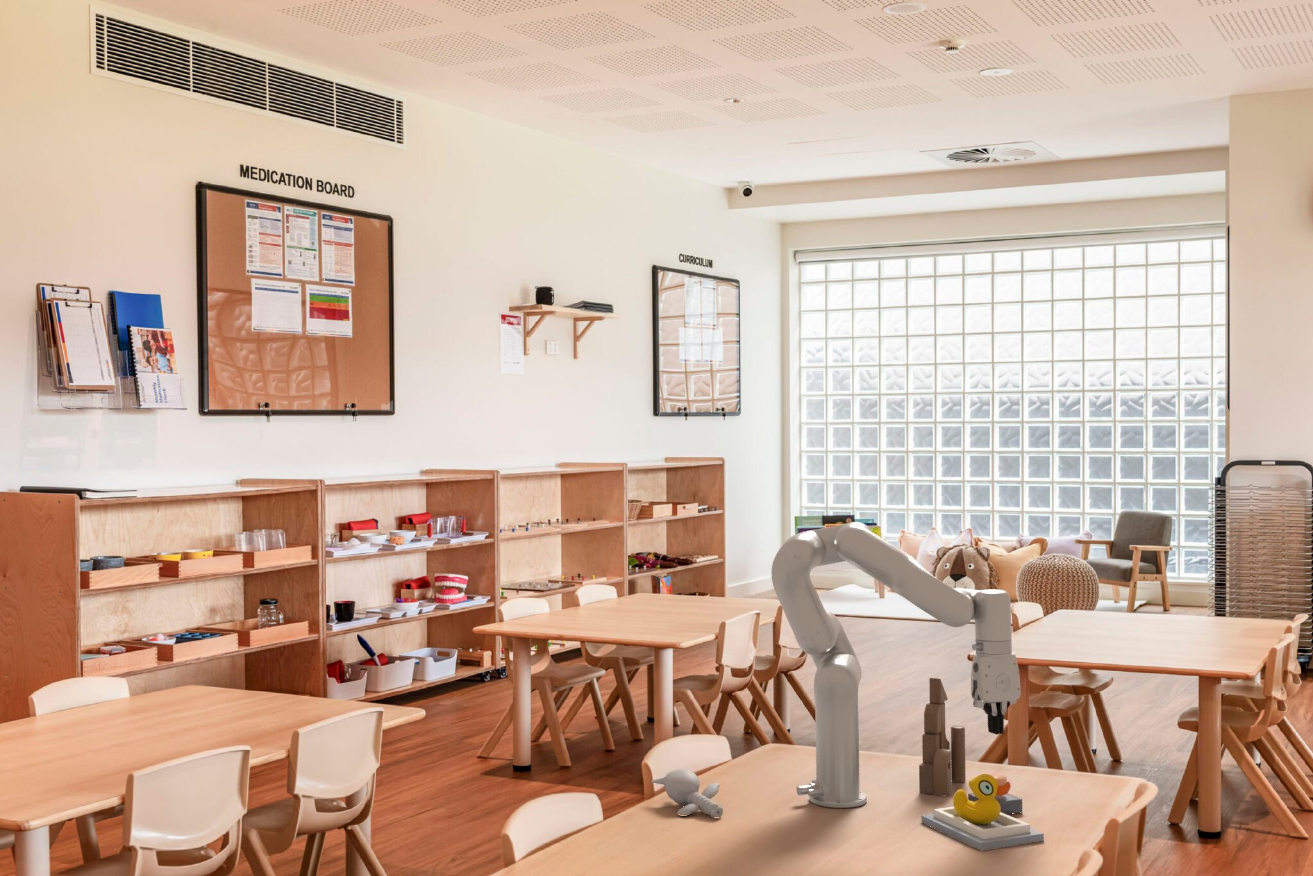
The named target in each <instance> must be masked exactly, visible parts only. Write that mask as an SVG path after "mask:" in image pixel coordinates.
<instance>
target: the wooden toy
mask: <svg viewBox="0 0 1313 876" xmlns="http://www.w3.org/2000/svg"><path fill="white" fill-rule="evenodd" d="M928 680H929V681H928V682H929V683H928V684H929V702H927V703H926V704H925V708H924V712H923V719H924V720H923V731H924V733H923V734H922V735H921V737H922V738H921V739H922V749H921V750H922V751H921V752H922V763H920V764H919V765H918V770H919V771H918V775H919V776H918V777H919V780H918V781H919V783H918V784H919V786H918V788H919V793H920V794H923V793H924V794H925V795H930V794H933V795H934V794H936V796H941V795H946V796H945V797H948V796H949V795H951V794H952V782H953V783H955V782H956V784H963V783H965V782H966V728H965V726H962V725H952V726H950V741H949V740H948V739H947V734H946V703H945V702H946V701H948V699H949V698H948V696H947V692H946V690H945V687H944V685H943V682H942V680H941V678H938V677H929V678H928ZM950 793H951V794H950Z"/></svg>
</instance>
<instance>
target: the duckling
mask: <svg viewBox="0 0 1313 876" xmlns="http://www.w3.org/2000/svg"><path fill="white" fill-rule="evenodd" d="M988 774H989V773H988ZM988 774H987V773H983V774H982V773H981V774H979V775H977V776H975V777H974V778H972V779H969V781H968V787H969V789H970V790H971V791H972V792H971V793H973V794H974V795H975V796H976V797H977V798H978V800H977V801H976V802H972V801H970V800H968V794H967V793H966V791H965V789H958V790H957V791H956V792H954V794H953V800H952V801H953V807H954V809H955V812H956V813H957V815H958V816H959V817H961V818H962V819H964V820H966V821H968V822H971V823H976V824H989V823H991V822H993V821H994V820H995V819H996V818H997V817H998V816H999V814H1000V811H1001V807H1000V804H999V803H998V801H997V800H996V799H995V796H996V795H997V796H1003V795H1005V794H1007V793H1008V794H1009V792H1010V790H1011V783H1010V781H1007V783H1006V784H1004V785H998V781H997V780H996V778H994V777H993V776H991V775H988Z"/></svg>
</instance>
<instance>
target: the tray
mask: <svg viewBox="0 0 1313 876" xmlns="http://www.w3.org/2000/svg"><path fill="white" fill-rule="evenodd" d="M920 817H921V819H920V821H921V822H922V823H921V824H923V823H924V825H925V824H926V826H927V825H928V827H930V826H931V827H930V828H931V829H934V828H935V829H934V830H936V829H937V830H936V831H938V832H940V831H941V832H940V833H942V834H944V833H945V835H946V834H947V836H949V837H951V838H953V837H954V838H953V839H955V838H956V840H957V839H958V840H957V841H959V840H960V841H959V842H961V843H963V842H964V844H966V845H968V846H971V848H974V847H975V849H976V850H978V851H980V852H983V851H988V850H989V851H990V849H991V850H996V849H1002V848H1001V847H1003V848H1009V847H1014V846H1013V845H1016V846H1021V845H1020V844H1022V845H1027V843H1029V844H1032V843H1031V842H1035V843H1040V842H1039V841H1041V842H1044V841H1045V840H1044V838H1045V837H1044V835H1045V834H1044V832H1041V831H1038V830H1036V829H1034V828H1032V827H1031V824H1030V823H1028V822H1025V821H1022V820H1020V819H1019V818H1015V817H1013V816H1012V815H1006V814H1004V813H1001V812H1000V814H999V816H998V817H997V818H996V819H995V820H994V821H993V822H991V823H989V824H976V823H971V822H968V821H966V820H964V819H962V818H961V817H959V816H958V815H957V813H956V812H955V809H954V806H949V807H943V808H935V809H933V813H928V814H922V815H921V816H920Z"/></svg>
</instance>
